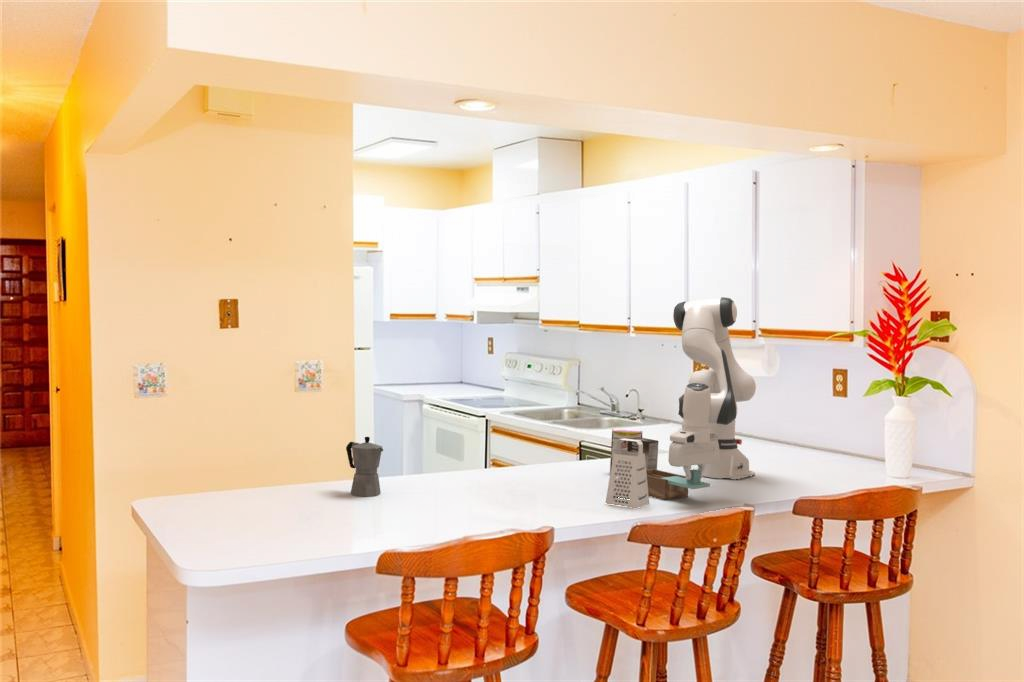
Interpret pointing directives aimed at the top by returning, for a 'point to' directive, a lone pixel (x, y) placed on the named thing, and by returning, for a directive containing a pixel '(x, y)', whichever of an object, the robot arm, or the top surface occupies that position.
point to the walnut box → (664, 485)
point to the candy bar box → (621, 434)
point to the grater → (628, 477)
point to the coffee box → (646, 451)
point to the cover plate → (684, 482)
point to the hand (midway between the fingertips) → (693, 478)
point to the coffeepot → (365, 468)
